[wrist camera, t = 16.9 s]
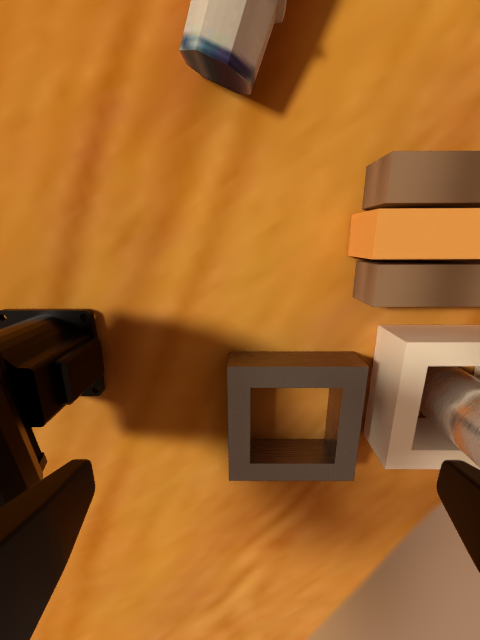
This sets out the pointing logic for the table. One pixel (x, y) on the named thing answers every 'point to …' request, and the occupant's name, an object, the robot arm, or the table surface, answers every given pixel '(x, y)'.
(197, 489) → the table surface
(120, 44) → the table surface
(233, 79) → the grey handle with block
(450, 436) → the peg
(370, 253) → the block
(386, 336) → the frame
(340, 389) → the socket block
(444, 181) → the key guide
